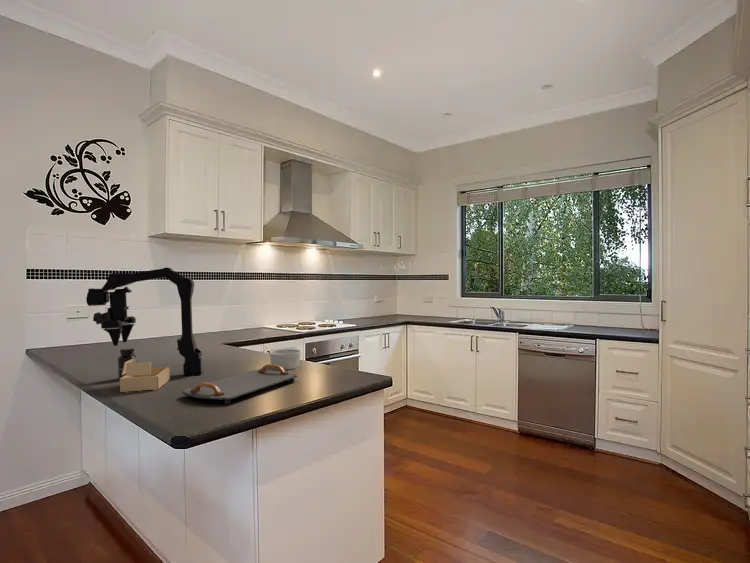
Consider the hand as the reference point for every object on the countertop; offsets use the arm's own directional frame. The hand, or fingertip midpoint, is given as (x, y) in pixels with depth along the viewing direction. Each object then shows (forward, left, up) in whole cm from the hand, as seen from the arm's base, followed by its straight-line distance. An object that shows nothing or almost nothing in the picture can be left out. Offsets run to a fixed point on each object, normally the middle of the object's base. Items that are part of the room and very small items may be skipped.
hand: (120, 343), depth 176 cm
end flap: (-13, +22, -9) cm, 27 cm away
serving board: (-49, +30, -15) cm, 60 cm away
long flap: (-7, +14, -9) cm, 18 cm away
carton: (-13, +14, -14) cm, 24 cm away
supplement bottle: (-2, -2, -15) cm, 15 cm away
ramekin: (-64, -4, -15) cm, 65 cm away
